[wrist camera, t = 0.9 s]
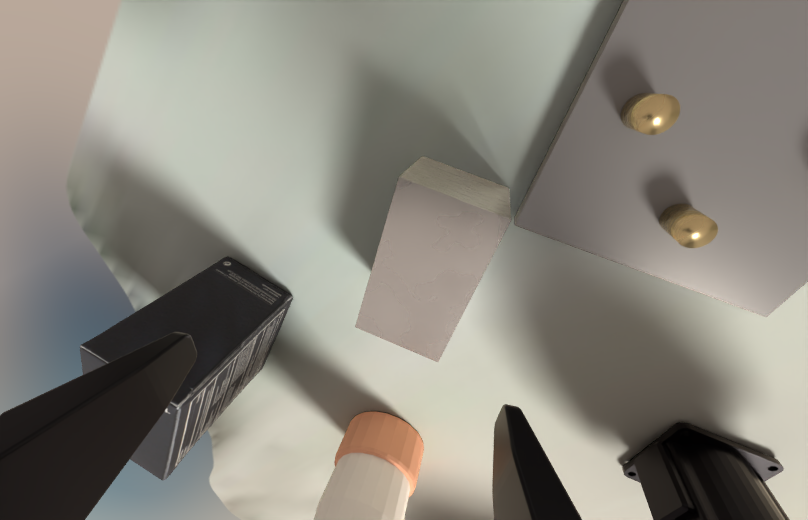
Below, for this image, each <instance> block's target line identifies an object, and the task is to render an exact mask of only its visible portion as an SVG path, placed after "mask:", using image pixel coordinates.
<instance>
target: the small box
mask: <svg viewBox="0 0 808 520" xmlns="http://www.w3.org/2000/svg"><path fill="white" fill-rule="evenodd" d="M292 299H293V297H292V296H291V295H290V294H288V293H287V292H285V291H283V290H281V289H280V288H278V287H276V286H275V285H273V284H272V283H270V282H268V281H267V280H265V279H263V278H262V277H260V276H259V275H257V274H256V273H254V272H252V271H251V270H249V269H248V268H246V267H245V266H243V265H241V264H240V263H238V262H236V261H235V260H233V259H231V258H229V257H225V258H223V259H222V260H220V261H219V262H217V263H215V264H214V265H212V266H211V267H209V268H207V269H206V270H204V271H203V272H201V273H199V274H198V275H196V276H194V277H193V278H191V279H190V280H188V281H186V282H185V283H183V284H181V285H180V286H178V287H177V288H175V289H173V290H171V291H170V292H168V293H167V294H165V295H163V296H162V297H160V298H158V299H157V300H155V301H154V302H152V303H150V304H149V305H147V306H145V307H144V308H142V309H140V310H139V311H137V312H135V313H134V314H132V315H131V316H129V317H128V318H126V319H124V320H122V321H120V322H119V323H117V324H116V325H114V326H112V327H111V328H110V329H108V330H106V331H105V332H103V333H101V334H100V335H98V336H96V337H94V338H93V339H91V340H89V341H87V342H85V343H84V344H82V345H81V346H80V352H81V362H82V370H83V375H84V374H86V373H88V372H90V371H92V370H95V369H97V368H99V367H101V366H103V365H105V364H107V363H109V362H111V361H114V360H116V359H118V358H120V357H122V356H124V355H126V354H128V353H131V352H133V351H135V350H137V349H139V348H141V347H143V346H145V345H147V344H150V343H152V342H154V341H156V340H158V339H160V338H162V337H164V336H166V335H169V334H171V333H173V332H181V333H186V334H189V335H191V337H192V339H193V342H194V345H195V348H196V351H197V358H196V361H195V363H194V364H193V366H192V368H191V369H190V371H189V373H188V374H187V376H186V378H185V379H184V381H183V383H182V384H181V386H180V388H179V389H178V391H177V392H176V394H175V396H174V397H173V399H172V401H171V402H170V404H169V405H168V407H167V409H166V410H165V412H164V413H163V414H162V416H161V417H160V419H159V420H158V421H157V423H156V424H155V425H154V427H153V428H152V429H151V431H150V432H149V434H148V435H147V436H146V438H145V439H144V440H143V442H142V443H141V444H140V446H139V447H138V448H137V450H136V451H135V453H134V454H133V455H132V457H131V458H130V459H131V460H132V461H134V462H135V463H137V464H138V465H140V466H141V467H143V468H144V469H146V470H147V471H149V472H150V473H152V474H153V475H155V476H156V477H158V478H160V479H161V480H165V479H167V478H168V476H169V475H170V474H171V473H172V472H173V470H174V469H175V468H176V467H177V465H178V464H179V463H180V462H181V460H182V459H183V458H184V456H185V455H186V454H187V453H188V452H189V450H190V449H191V448H192V447H193V446H194V445H195V443H196V442H197V441H198V440H199V439H200V437H201V436H202V435H203V434H204V433H205V432H206V431H207V429H208V428H209V427H210V426H211V425H212V424H213V423H214V422H215V420H216V419H217V418H218V417H219V416H220V415H221V414H222V412H223V411H224V410H225V409H226V408H227V407H228V406H229V405H230V403H231V402H232V401H233V400H234V399H235V398H236V397H237V395H238V394H239V393H240V392H241V391H242V390H243V389H244V388H245V386H247V384H248V383H249V382H250V381H251V380H252V379H253V378H254V377H255V376H256V375H257V374H258V373H259V372H260V370H261V369H262V368H263V366H264V364H265V361H266V359H267V357H268V355H269V352H270V350H271V348H272V345H273V343H274V341H275V339H276V336H277V334H278V332H279V330H280V327H281V325H282V323H283V320H284V318H285V316H286V313H287V311H288V308H289V306H290V304H291V301H292Z"/></svg>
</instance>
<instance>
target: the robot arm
mask: <svg viewBox="0 0 808 520" xmlns="http://www.w3.org/2000/svg"><path fill="white" fill-rule="evenodd" d="M196 358H197V351H196V348H195V345H194V342H193V339H192V337H191V335H189V334H186V333H181V332H173V333H171V334H169V335H166V336H164V337H162V338H160V339H158V340H156V341H154V342H152V343H150V344H147V345H145V346H143V347H141V348H139V349H137V350H135V351H133V352H131V353H128V354H126V355H124V356H122V357H120V358H118V359H116V360H114V361H111V362H109V363H107V364H105V365H103V366H101V367H99V368H97V369H95V370H92V371H90V372H88V373H86V374H84V375H82V376H80V377H78V378H76V379H73V380H71V381H69V382H67V383H65V384H63V385H61V386H59V387H57V388H55V389H52V390H50V391H48V392H46V393H44V394H42V395H40V396H38V397H35V398H33V399H31V400H29V401H27V402H25V403H23V404H21V405H18V406H16V407H14V408H12V409H10V410H8V411H6V412H4V413H2V414H1V415H0V520H85V519H86V518H87V516H88V515H89V513H90V512H91V511H92V509H93V508H94V507H95V505H96V504H97V503H98V501H99V500H100V499H101V497H102V496H103V495H104V493H105V492H106V490H107V489H108V488H109V486H110V485H111V484H112V482H113V481H114V480H115V478H116V477H117V476H118V474H119V473H120V471H121V470H122V469H123V467H124V466H125V465H126V463H127V462H128V461H129V459H130V458H131V457H132V455H133V454H134V453H135V451H136V450H137V448H138V447H139V446H140V444H141V443H142V442H143V440H144V439H145V438H146V436H147V435H148V434H149V432H150V431H151V429H152V428H153V427H154V425H155V424H156V423H157V421H158V420H159V419H160V417H161V416H162V414H163V413H164V412H165V410H166V409H167V407H168V405H169V404H170V402H171V401H172V399H173V397H174V396H175V394H176V392H177V391H178V389H179V388H180V386H181V384H182V383H183V381H184V379H185V378H186V376H187V374H188V373H189V371H190V369H191V368H192V366H193V364H194V363H195V361H196ZM622 469H623V472H624V475H625V476H626V477H628V478H631V479H633V480H635V481H638V482H640V483H641V485H642V488H643V491H644V494H645V497H646V499H647V502H648V505H649V508H650V511H651V514H652V517H653V520H789V518H788V517H787V515H786V514H785V512H784V511H783V509H782V508H781V506H780V504H779V503H778V501H777V500H776V498H775V497H774V495H773V494H772V492H771V491H770V489H769V488H768V486H767V485H766V483H765V482H764V481H766V480H768V479H770V478H771V477H773V476H775V475H777V474H779V473H780V472H782V471H783V469H784V468H783V466H782V465H781V464H780V462H779V461H778V460H777V459H775V458H773V457H770V456H768V455H765V454H763V453H760V452H758V451H755V450H753V449H750V448H748V447H745V446H743V445H740V444H738V443H735V442H733V441H730V440H728V439H725V438H723V437H720V436H718V435H715V434H713V433H710V432H708V431H705V430H703V429H700V428H698V427H695V426H693V425H690V424H688V423H677V424H675V425H674V426H673V427H671V428H670V429H669V430H668V431H666V432H665V433H664V434H663V435H661V436H660V437H659V438H658V439H656V440H655V441H654V442H653V443H651V444H650V445H649V446H648V447H646V448H645V449H644V450H643V451H641V452H640V453H639V454H638V455H636V456H635V457H634V458H633V459H631V460H630V461H629V462H628V463H626V464H625V465H624V466H623V467H622ZM493 508H494V520H582V519H581V517H580V515H579V513H578V512H577V510H576V508H575V506H574V504H573V503H572V501H571V499H570V497H569V495H568V493H567V492H566V490H565V488H564V486H563V484H562V483H561V481H560V479H559V477H558V475H557V474H556V472H555V470H554V468H553V466H552V465H551V463H550V461H549V459H548V457H547V456H546V454H545V452H544V450H543V448H542V447H541V445H540V443H539V441H538V439H537V437H536V436H535V434H534V432H533V430H532V428H531V427H530V425H529V423H528V421H527V419H526V418H525V416H524V414H523V412H522V411H521V409H520V408H519V407H516V406H511V405H507V404H505V405H503V407H502V408H501V411H500V413H499V415H498V417H497V420H496V422H495V428H494V455H493Z"/></svg>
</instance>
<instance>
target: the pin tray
mask: <svg viewBox="0 0 808 520" xmlns="http://www.w3.org/2000/svg"><path fill="white" fill-rule="evenodd" d="M514 223H515V225H516V226H518V227H521V228H524V229H527V230H529V231H532V232H535V233H537V234H540V235H543V236H546V237H548V238H551V239H554V240H557V241H559V242H562V243H565V244H568V245H570V246H573V247H576V248H578V249H581V250H584V251H587V252H589V253H592V254H595V255H598V256H600V257H603V258H606V259H609V260H611V261H614V262H617V263H620V264H622V265H625V266H628V267H630V268H633V269H636V270H639V271H641V272H644V273H647V274H650V275H652V276H655V277H658V278H661V279H663V280H666V281H669V282H671V283H674V284H677V285H680V286H682V287H685V288H688V289H691V290H693V291H696V292H699V293H702V294H704V295H707V296H710V297H712V298H715V299H718V300H721V301H723V302H726V303H729V304H732V305H734V306H737V307H740V308H743V309H745V310H748V311H751V312H753V313H756V314H759V315H762V316H764V317H767V316H768V315H769V314H771V313H772V312H773V311H774V310H775V309H776V308H778V307H779V306H780V305H781V304H782V303H783V302H785V301H786V300H787V299H788V298H789V297H790V296H791V295H793V294H794V293H795V292H796V291H797V290H798V289H800V288H801V287H802V286H803V285H804V284H805V283H807V282H808V0H623V2H622V4H621V6H620V8H619V10H618V12H617V14H616V16H615V18H614V20H613V22H612V24H611V26H610V28H609V30H608V32H607V34H606V36H605V38H604V40H603V42H602V44H601V46H600V48H599V50H598V52H597V54H596V56H595V58H594V60H593V62H592V64H591V66H590V68H589V70H588V72H587V74H586V76H585V78H584V80H583V82H582V84H581V86H580V88H579V90H578V92H577V94H576V96H575V98H574V100H573V102H572V104H571V106H570V108H569V110H568V112H567V114H566V116H565V118H564V120H563V122H562V124H561V126H560V128H559V130H558V132H557V134H556V136H555V138H554V140H553V142H552V144H551V146H550V148H549V150H548V152H547V154H546V156H545V158H544V160H543V162H542V164H541V166H540V168H539V170H538V172H537V174H536V176H535V178H534V180H533V182H532V184H531V186H530V188H529V190H528V192H527V194H526V196H525V198H524V200H523V202H522V204H521V206H520V208H519V210H518V212H517V214H516V216H515V218H514Z"/></svg>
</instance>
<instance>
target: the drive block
mask: <svg viewBox="0 0 808 520" xmlns="http://www.w3.org/2000/svg"><path fill="white" fill-rule="evenodd" d="M510 222H511V206H510V190H509V188H508V187H505V186H502V185H500V184H497V183H494V182H492V181H489V180H486V179H484V178H481V177H478V176H475V175H473V174H470V173H467V172H465V171H462V170H459V169H457V168H454V167H451V166H449V165H446V164H443V163H441V162H438V161H435V160H432V159H430V158H427V157H424V156H422V157H421V158H419V159H418V160H417V161H416V162H415V163H414V164H413V165H412V166H410V167H409V168H408V169H407V170H406V171H405V172H404V173H402V174H401V175H400V176H399V178H398V181H397V184H396V188H395V191H394V195H393V198H392V202H391V205H390V209H389V212H388V216H387V219H386V222H385V226H384V229H383V233H382V236H381V240H380V243H379V247H378V250H377V253H376V257H375V260H374V264H373V267H372V271H371V274H370V278H369V281H368V285H367V288H366V291H365V295H364V298H363V302H362V305H361V309H360V312H359V316H358V319H357V323H356V326H355V327H356V328H359V329H361V330H363V331H366V332H368V333H371V334H373V335H375V336H378V337H380V338H382V339H385V340H387V341H389V342H392V343H394V344H396V345H399V346H401V347H403V348H406V349H408V350H411V351H413V352H415V353H418V354H420V355H422V356H425V357H427V358H429V359H432V360H434V361H436V362H438V361H439V359H440V357H441V355H442V353H443V352H444V350H445V348H446V346H447V344H448V342H449V340H450V338H451V336H452V334H453V332H454V330H455V328H456V326H457V324H458V322H459V320H460V319H461V317H462V315H463V313H464V311H465V309H466V307H467V305H468V303H469V301H470V299H471V297H472V295H473V293H474V291H475V289H476V287H477V286H478V284H479V282H480V280H481V278H482V276H483V274H484V272H485V270H486V268H487V266H488V264H489V262H490V260H491V258H492V256H493V254H494V253H495V251H496V249H497V247H498V245H499V243H500V241H501V239H502V237H503V235H504V233H505V231H506V229H507V227H508V225H509V223H510Z"/></svg>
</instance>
